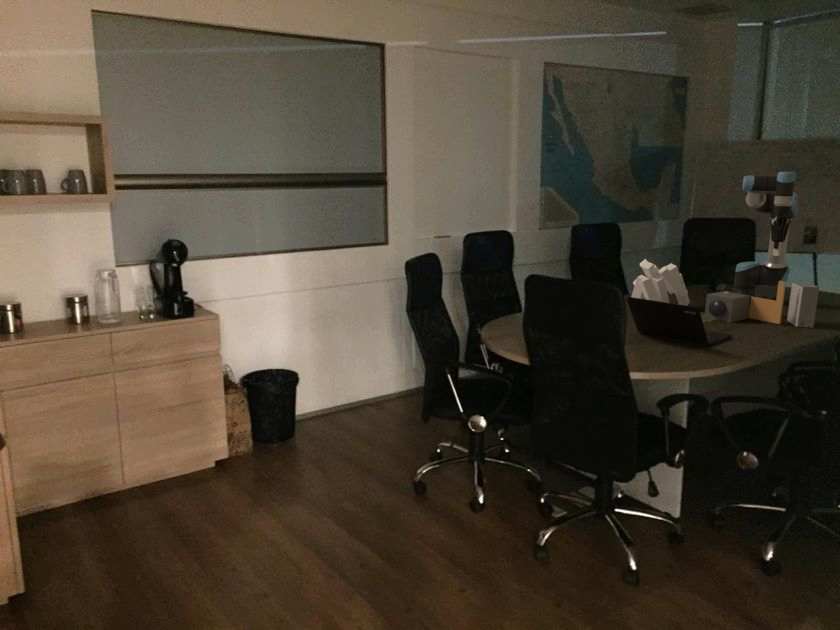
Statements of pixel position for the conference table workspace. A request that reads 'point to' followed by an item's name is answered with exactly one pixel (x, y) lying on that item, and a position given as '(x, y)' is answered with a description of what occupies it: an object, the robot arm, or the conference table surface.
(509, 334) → the conference table surface
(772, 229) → the robot arm
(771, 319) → the bent orange bar
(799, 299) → the hard drive box
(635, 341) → the conference table surface
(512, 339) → the conference table surface
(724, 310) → the grey box with knob
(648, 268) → the pile of blocks
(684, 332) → the laptop
